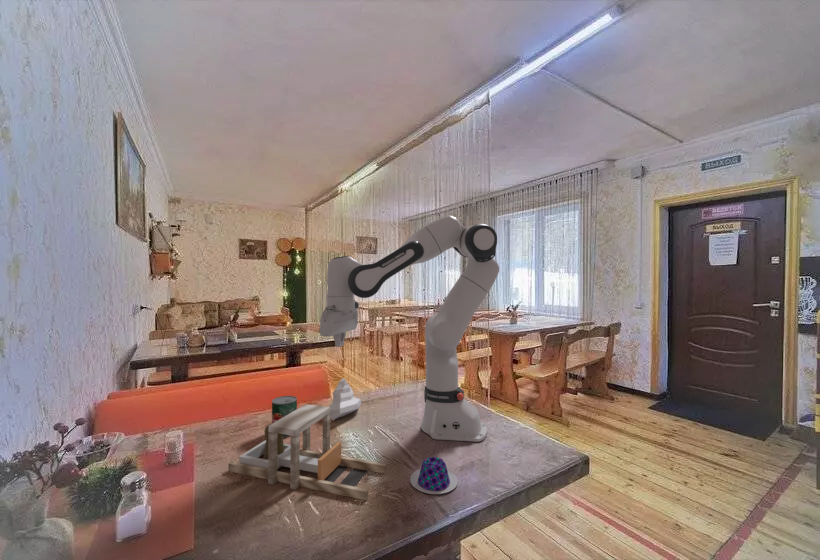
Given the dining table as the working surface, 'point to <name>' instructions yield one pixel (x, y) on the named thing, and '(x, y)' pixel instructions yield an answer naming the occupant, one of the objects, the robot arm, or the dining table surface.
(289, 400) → the canned tomato
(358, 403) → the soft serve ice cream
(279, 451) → the olive rounded cylinder
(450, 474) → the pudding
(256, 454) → the sled fence
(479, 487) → the dining table surface
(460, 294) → the robot arm
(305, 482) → the tunnel track
